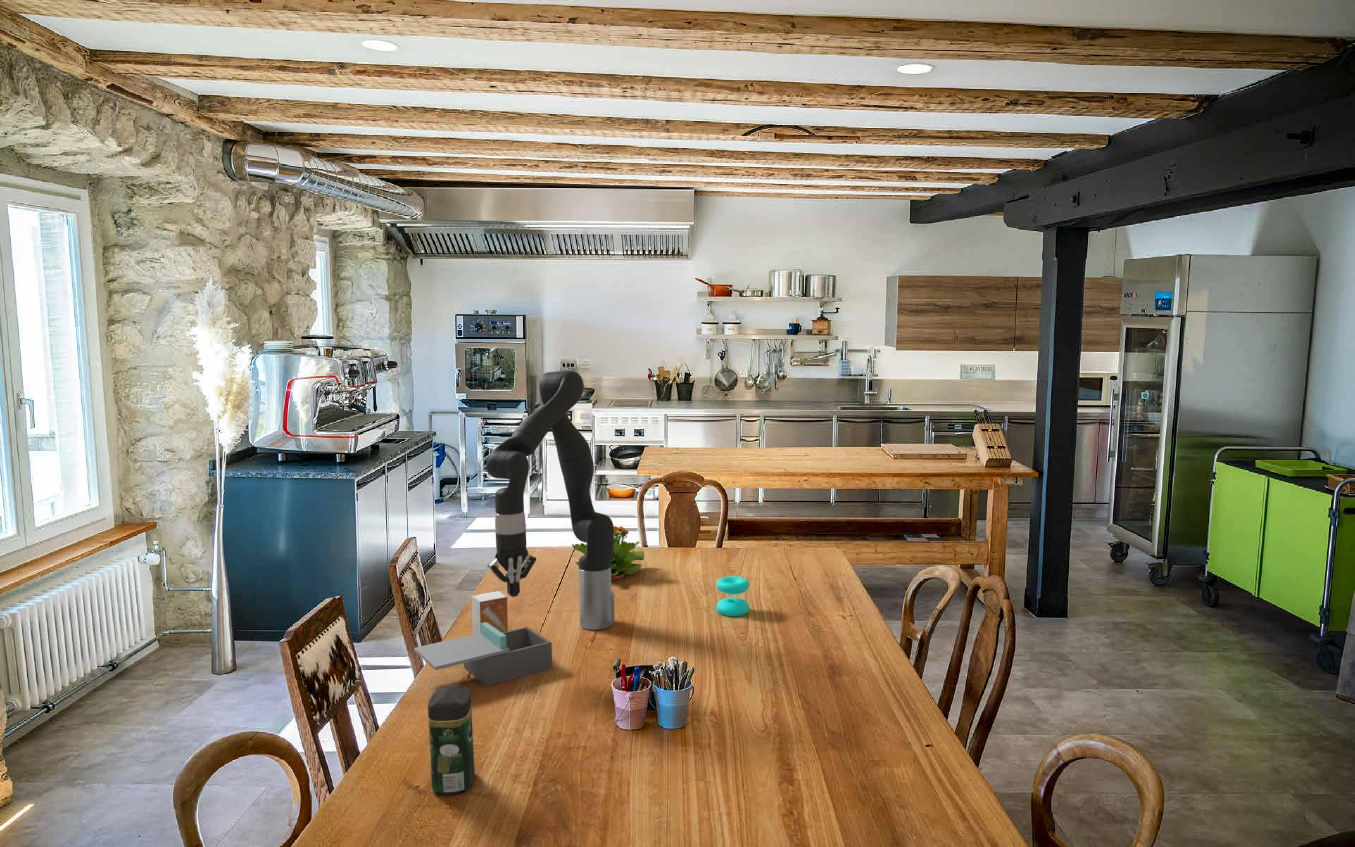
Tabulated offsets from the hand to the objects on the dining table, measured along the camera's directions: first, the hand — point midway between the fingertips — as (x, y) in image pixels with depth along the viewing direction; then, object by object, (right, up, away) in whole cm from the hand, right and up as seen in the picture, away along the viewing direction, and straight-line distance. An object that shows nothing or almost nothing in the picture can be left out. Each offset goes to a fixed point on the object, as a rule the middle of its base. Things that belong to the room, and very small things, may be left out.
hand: (513, 595), depth 223 cm
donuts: (+58, -13, +42) cm, 73 cm away
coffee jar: (-2, -26, -53) cm, 59 cm away
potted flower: (+18, -9, +78) cm, 81 cm away
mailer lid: (-12, -12, -7) cm, 18 cm away
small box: (-10, -17, +20) cm, 28 cm away
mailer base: (-2, -19, +1) cm, 19 cm away
